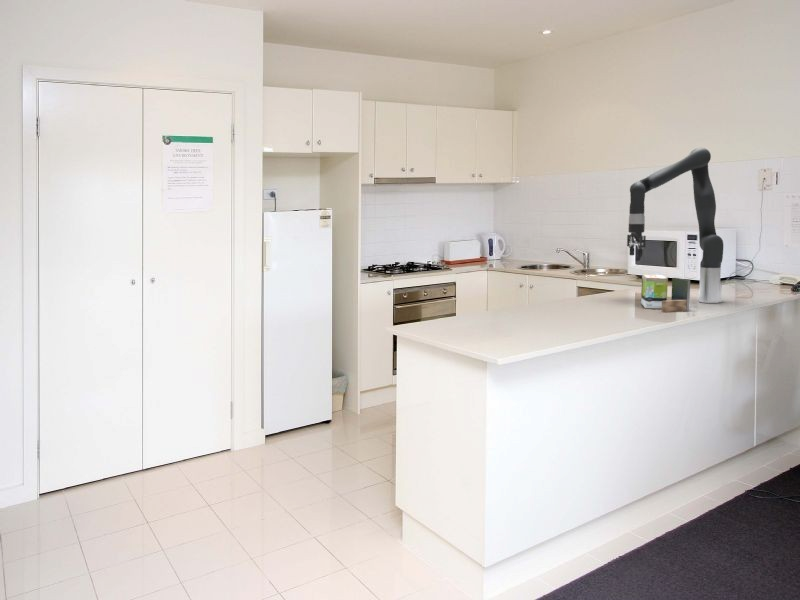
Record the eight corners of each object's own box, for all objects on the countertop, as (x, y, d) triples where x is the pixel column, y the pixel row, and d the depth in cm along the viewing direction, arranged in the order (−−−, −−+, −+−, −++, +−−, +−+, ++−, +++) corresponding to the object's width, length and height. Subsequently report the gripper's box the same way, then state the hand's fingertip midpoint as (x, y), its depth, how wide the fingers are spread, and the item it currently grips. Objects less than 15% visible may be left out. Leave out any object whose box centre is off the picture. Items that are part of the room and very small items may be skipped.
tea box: (667, 308, 326) (668, 277, 324) (644, 308, 328) (645, 277, 326) (662, 304, 340) (663, 274, 338) (640, 304, 342) (641, 274, 340)
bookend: (673, 306, 331) (674, 277, 329) (689, 310, 318) (690, 280, 316) (671, 307, 331) (672, 277, 329) (686, 311, 318) (687, 280, 316)
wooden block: (685, 310, 320) (686, 299, 319) (687, 311, 318) (687, 300, 317) (661, 311, 318) (661, 300, 317) (663, 312, 316) (663, 301, 316)
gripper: (651, 223, 340) (650, 256, 342) (636, 222, 354) (635, 254, 356) (636, 223, 339) (636, 257, 341) (622, 222, 353) (621, 255, 355)
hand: (635, 255), depth 349 cm, fingers open, 7 cm apart
